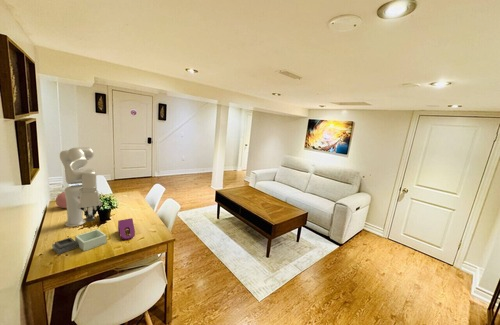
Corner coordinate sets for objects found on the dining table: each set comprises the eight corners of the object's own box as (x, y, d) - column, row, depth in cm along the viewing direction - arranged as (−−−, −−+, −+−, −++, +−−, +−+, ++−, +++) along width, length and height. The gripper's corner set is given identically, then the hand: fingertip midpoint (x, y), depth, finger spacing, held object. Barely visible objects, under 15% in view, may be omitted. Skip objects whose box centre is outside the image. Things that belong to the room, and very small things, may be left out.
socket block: (52, 248, 132) (52, 242, 131) (72, 242, 140) (71, 236, 139) (58, 254, 126) (57, 247, 126) (78, 247, 135) (77, 241, 134)
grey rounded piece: (85, 222, 134) (84, 203, 133) (86, 219, 138) (85, 201, 137) (94, 220, 137) (94, 202, 135) (95, 218, 141) (94, 200, 139)
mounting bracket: (135, 243, 155) (131, 225, 167) (135, 236, 151) (132, 218, 163) (120, 246, 149) (117, 227, 161) (121, 239, 145) (118, 220, 157)
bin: (75, 244, 138) (75, 236, 137) (97, 236, 149) (97, 229, 149) (83, 251, 132) (83, 242, 131) (106, 242, 143) (106, 234, 142)
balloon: (83, 208, 194) (83, 192, 192) (54, 211, 182) (53, 195, 180) (84, 203, 206) (83, 188, 204) (57, 206, 194) (56, 190, 192)
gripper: (72, 192, 127) (74, 220, 129) (105, 189, 137) (105, 215, 140) (73, 189, 132) (74, 216, 135) (104, 186, 143) (105, 211, 146)
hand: (90, 215), depth 137 cm, fingers closed on grey rounded piece, 3 cm apart
